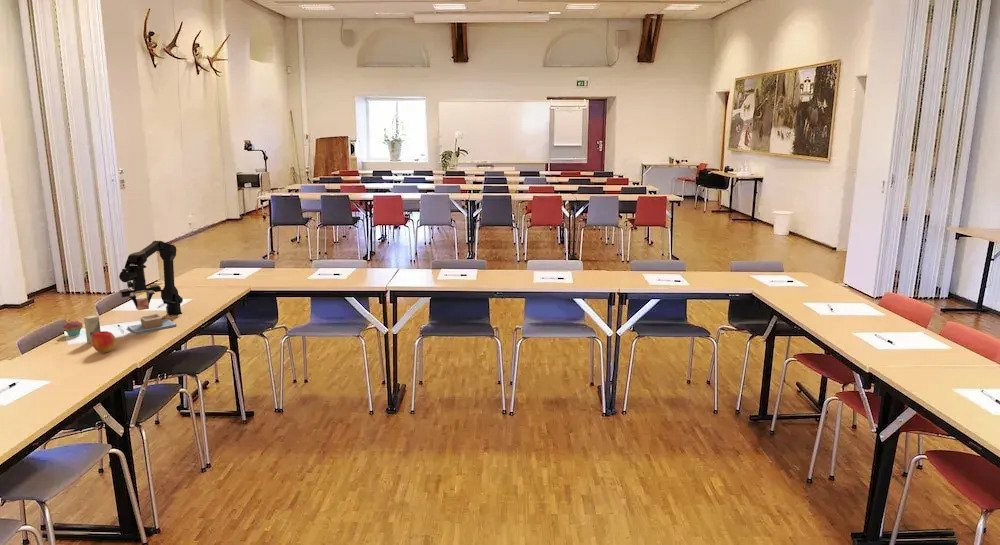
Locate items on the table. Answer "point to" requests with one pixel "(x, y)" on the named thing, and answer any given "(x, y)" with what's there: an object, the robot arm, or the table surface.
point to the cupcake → (72, 327)
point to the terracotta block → (142, 304)
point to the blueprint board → (139, 328)
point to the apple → (103, 341)
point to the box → (91, 327)
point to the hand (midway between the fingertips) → (142, 306)
